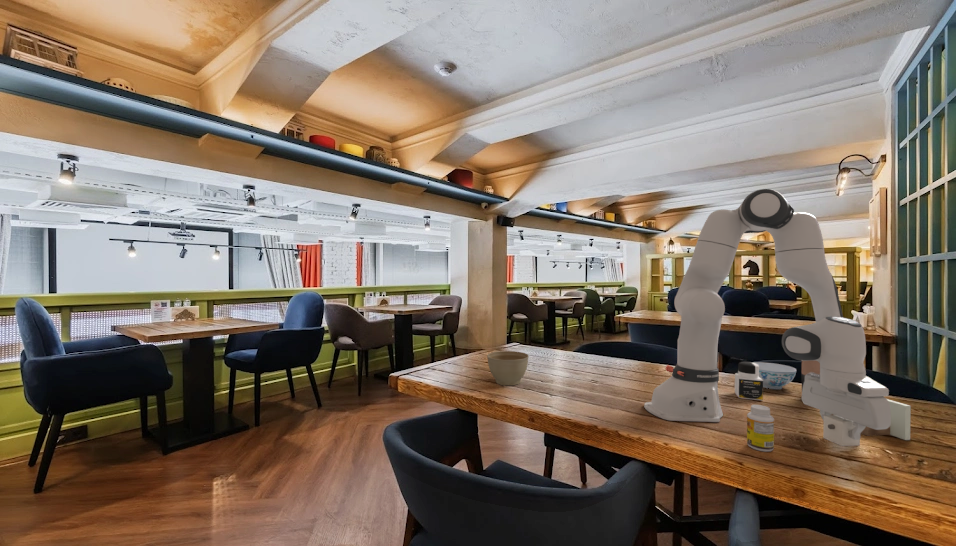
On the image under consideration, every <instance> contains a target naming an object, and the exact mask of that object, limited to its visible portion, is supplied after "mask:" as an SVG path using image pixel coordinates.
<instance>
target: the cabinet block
mask: <svg viewBox="0 0 956 546" xmlns="http://www.w3.org/2000/svg"><path fill="white" fill-rule="evenodd" d="M854 427H855V426H853V421H850V420H847V419H844V418H842V417H839V416H836V415H825V416H824V421H823V429H822V430H823V435H822V436H823V437H822V438H823V439H824V440H827V441H830V442H831V443H834V444H836V445H838V446H840V447H855V446H856V447H857V446H861V438H860V439H859V440H855V439H852V438H850V437H849V436H848V435H849V433H848V431H849V430H851V431H852V430H853V429H854Z"/></svg>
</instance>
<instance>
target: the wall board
mask: <svg viewBox="0 0 956 546" xmlns="http://www.w3.org/2000/svg"><path fill="white" fill-rule="evenodd" d="M886 399H887V400H888V402H889V404H890V410H891V425H890V435H889V436H892V437H896V438H898V439H900V440H904V441H911V417H912V416H911V414H912V413H911V408H912V406H911V405H909V404H906V403H902V402H899V401H895V400H891V399H888V398H886Z"/></svg>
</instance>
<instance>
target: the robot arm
mask: <svg viewBox="0 0 956 546" xmlns="http://www.w3.org/2000/svg"><path fill="white" fill-rule="evenodd" d="M821 230H822V229H821V226H820V225H819V221H818V219H817V217H816V216H814V215H813V213H812V214H811V213H808V212H802V211H798V212H795V208H794V207H793V205H791V204H790V202H789V201H788V200H787V199H786V198H785V196H784V195H782V194H781V193H780V192H779V191H777V190H774V189H770V188H762V189H757V190H755V191H752V192H751V193H749V194H747V196H746V197H745V198H744V199H743V201H742V202H741V204H740V206H738V207H737V208H736V209H723V208H722V209H717V210H715V211H712V212H711V213H709V215H708V216H707V218H706V220H705V222H704V224H703V226H702V228H701V231H700V233H699V235H698V238H697V241H696V244H695V247H694V250H693V254H692V255H691V256H692V257H691V260H690V262H689V265H688V267H687V270H686V272H685V274H684V276H683V278H682V280H681V283H680V286H679V287H678V290H677V292H676V295H675V296H674V300H673V301H674V308H675V311H676V312H677V313H678V315H679V316H680V317H681V319H680V326H679V327H680V328H679V335H678V338H677V353H676V354H677V355H676V356H677V357H676V358H677V359H676V360H677V363H676V364H675V366H672V365H669V364H666V366H665V367H664V369H665V371H666V372H669V373H671V376H670V377H669V378H668V379H666V380H665V381H663V382H662V383H661V384H659V385H658V386H656V387H655V388H654V389H653V392H652V397H651V401H647V402H644V405H643V406H644V408H645V410H646V411H647V412H648V413H650V414H652V415H654V416H656V417H657V418H660V419H663V420H667V421H674V422H675V421H677V422H678V421H679V422H703V423H704V422H709V423H720V421H721V418H722V417H723V415H724V414H723V410H722V407H721V401H720V396H719V386H718V384H719V380H720V378H719V377H720V376H719V375H720V373H719V371H720V370H719V368H718V344H719V336H720V331H721V326H722V320H723V316H724V314H725V311H726V308H725V307H726V306H725V305H726V304H725V302H724V300H723V298H722V297H721V296H720V295H719V294H718V293H719V291H720V289H721V287H722V285H723V284H724V282H725V280H726V279H727V277H728V276H729V274H730V271H731V269H732V266H733V262H734V260H735V257H736V253H737V251H738V248H739V245H740V242H741V240H742V239H741V238H742V237H743V235H744V234H758V233H764V232H767V233H769V234H770V235H771V237H772V239H773V242H774V254H775V257H774V258H775V264H776V265H775V266H776V269H777V271H778V273H779V274H780V276H782V277H783V278H784V279H785V280H787V281H789V282H790V283H793V284H796V285H797V286H799V287H801V289H802V290H805V291H806V292H807V293H808V295H809V297H810V299H811V305H812V311H813V314H814V318H815V322H813V323H810V324H804V325H799V326H793V327H789V328H788V329H786V330H785V331H784V332H783V334H782V336H781V346H782V348H783V351H784V352H785V354H786V355H788V356H789V357H790V358H791V359H794V360H797V361H801V362H802V361H818V362H819V363H820V374H816V373H813V372H810V373H808V374H806V375H805V382H804V384H803V389H802V388H801V401H802V402H803V404H804V405H806V406H808V407H811V408H815V409H817V410H819V415H820V416H821V419H822V421H823V422H824V416H825V415H831V414H833V415H836V416H839V417H842V418H844V419H847V420H850V421H853V426H855V427H854V429H853V430H852V431H851V430H849V431H848V433H849V435H848V436H849V437H850V438H852V439H855V440H859V439H860V440H861V432H862V431H863V430H864V429H865V428H866V426H867V427H869V428H872V429H875V430H882V429H887V428H889V427H890V425H891V410H890V404H889V402H888V400H887V399H888V398H886V397H888V396H889V394H890V393H889V392H890V390H889V388H887V386H885V385H883V384H881V383H880V382H878V381H876V380H874V379H872V378H871V377H869V376H867V375H866V374H867V372H866V366H865V364H864V363H865V362H864V361H865V358H866V355H867V345H866V343H867V341H866V334H865V333H866V332H865V329H864V327H863V326H862V324H861V323H860V322H858V321H857V320H854V319H850V318H849V317H848V318H847V317H844V315H843V310H842V309H843V308H842V306H841V302H840V297H839V291H838V288H837V285H836V281H835V278H834V276H833V275H832V273H831V272H830V269H829V266H828V263H827V259H826V253H825V246H824V245H825V244H824V238H823V234H822V231H821Z"/></svg>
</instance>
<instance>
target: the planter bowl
mask: <svg viewBox="0 0 956 546" xmlns="http://www.w3.org/2000/svg"><path fill="white" fill-rule="evenodd" d="M486 357H487V364H488V368H489V371H490V374H491V375H492V376H493V378H494V379H495V383H496V384H498V385H500V386H508V387H509V386H517V385H519V384H520V383H521V380H522V379H523V377H524V375H525V374H526V371H527V368H528V365H529V364H528V363H529V357H530V356H529V354H528V353H525V352H522V351H514V350H513V351H512V350H502V351H493V352H490V353H488V354H487V355H486Z"/></svg>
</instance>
